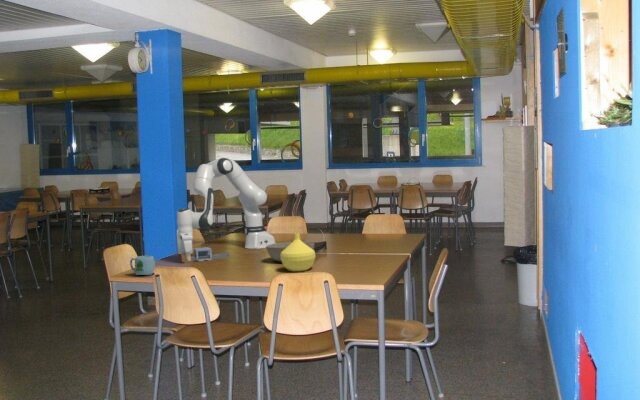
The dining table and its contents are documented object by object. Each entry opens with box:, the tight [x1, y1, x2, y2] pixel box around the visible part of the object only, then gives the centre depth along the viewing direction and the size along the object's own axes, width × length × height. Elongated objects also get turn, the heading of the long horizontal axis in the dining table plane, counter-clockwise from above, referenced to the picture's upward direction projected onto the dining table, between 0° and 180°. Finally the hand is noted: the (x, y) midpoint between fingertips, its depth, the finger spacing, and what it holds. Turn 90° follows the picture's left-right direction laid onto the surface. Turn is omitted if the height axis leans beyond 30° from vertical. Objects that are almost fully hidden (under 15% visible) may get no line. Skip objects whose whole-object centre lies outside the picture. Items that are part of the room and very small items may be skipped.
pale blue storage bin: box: [193, 246, 213, 262], centre depth 403 cm, size 9×9×7 cm
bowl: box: [265, 241, 315, 263], centre depth 383 cm, size 28×28×10 cm
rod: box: [191, 252, 230, 262], centre depth 404 cm, size 23×3×3 cm, turn 106°
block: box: [180, 253, 192, 263], centre depth 400 cm, size 5×5×5 cm
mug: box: [129, 254, 156, 276], centre depth 361 cm, size 15×11×10 cm
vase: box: [280, 232, 316, 273], centre depth 350 cm, size 18×18×19 cm
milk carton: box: [176, 228, 194, 256], centre depth 431 cm, size 7×7×19 cm
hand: (187, 258), depth 400 cm, fingers open, 7 cm apart
